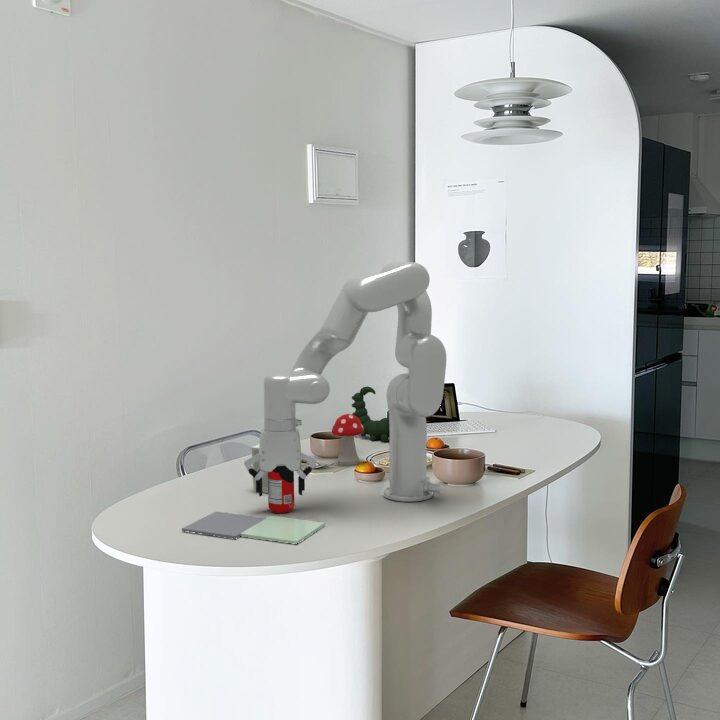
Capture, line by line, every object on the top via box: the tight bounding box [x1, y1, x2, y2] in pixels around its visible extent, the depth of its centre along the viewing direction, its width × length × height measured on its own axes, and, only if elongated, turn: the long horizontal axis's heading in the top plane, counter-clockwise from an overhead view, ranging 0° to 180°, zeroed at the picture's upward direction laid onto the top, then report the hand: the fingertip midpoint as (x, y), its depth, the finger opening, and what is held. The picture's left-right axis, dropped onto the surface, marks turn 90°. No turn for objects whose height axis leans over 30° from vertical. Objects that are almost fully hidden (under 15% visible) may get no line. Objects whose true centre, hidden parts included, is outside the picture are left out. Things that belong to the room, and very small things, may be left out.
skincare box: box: [251, 443, 268, 494], centre depth 230 cm, size 6×4×12 cm
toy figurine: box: [351, 386, 390, 442], centre depth 289 cm, size 9×19×25 cm
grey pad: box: [181, 511, 267, 540], centre depth 201 cm, size 14×14×1 cm
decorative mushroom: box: [331, 413, 364, 467], centre depth 258 cm, size 10×9×15 cm
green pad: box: [240, 515, 326, 544], centre depth 197 cm, size 14×14×1 cm
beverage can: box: [267, 465, 295, 514], centre depth 212 cm, size 6×6×12 cm
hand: (280, 494), depth 212 cm, fingers open, 9 cm apart
